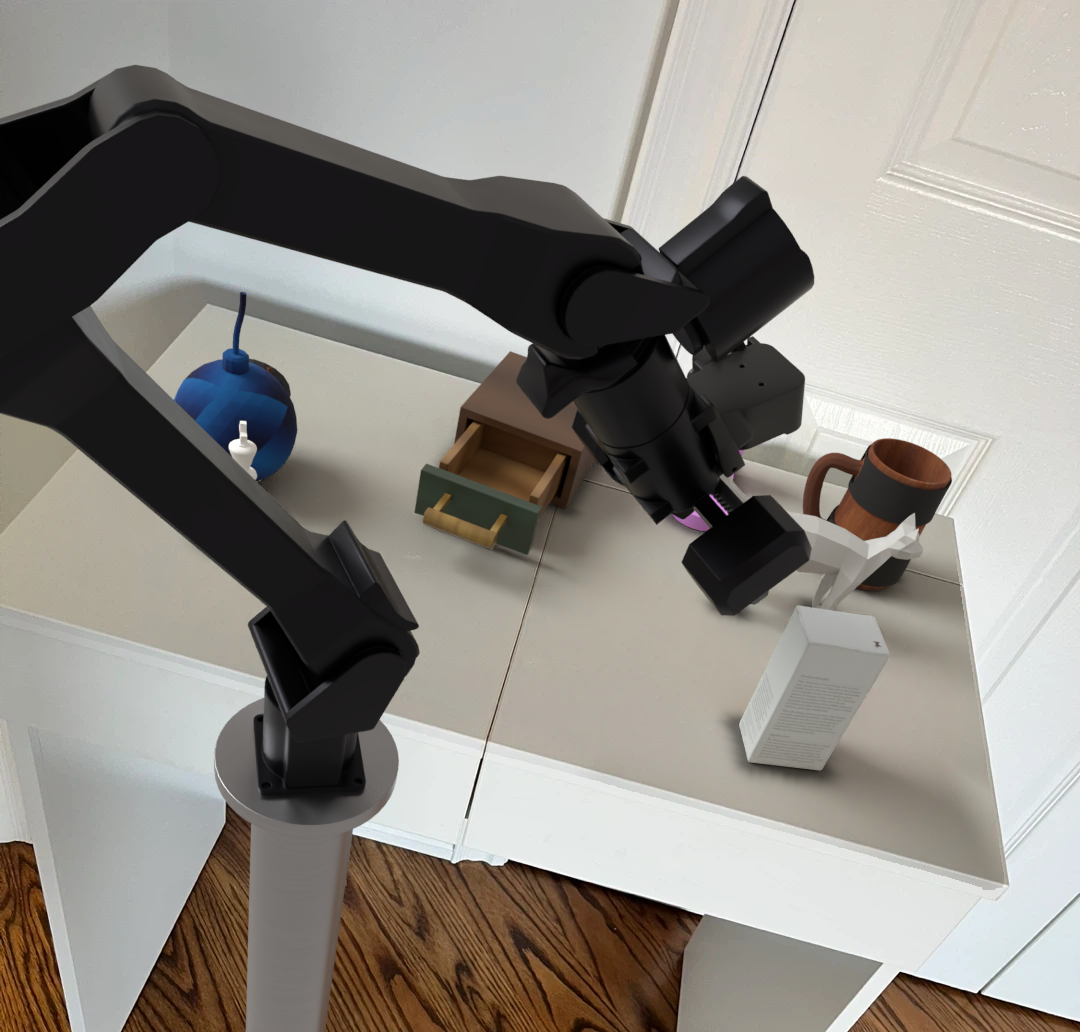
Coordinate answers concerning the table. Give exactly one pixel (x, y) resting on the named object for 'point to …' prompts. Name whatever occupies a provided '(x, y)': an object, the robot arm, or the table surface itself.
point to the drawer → (491, 488)
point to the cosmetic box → (812, 687)
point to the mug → (882, 495)
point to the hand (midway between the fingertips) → (722, 554)
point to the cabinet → (527, 422)
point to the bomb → (243, 403)
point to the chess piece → (244, 450)
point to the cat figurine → (846, 552)
